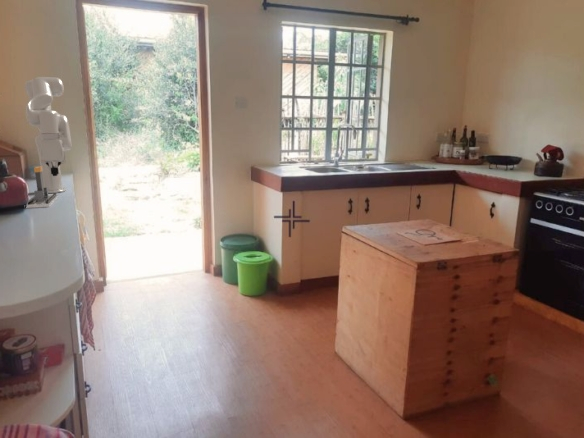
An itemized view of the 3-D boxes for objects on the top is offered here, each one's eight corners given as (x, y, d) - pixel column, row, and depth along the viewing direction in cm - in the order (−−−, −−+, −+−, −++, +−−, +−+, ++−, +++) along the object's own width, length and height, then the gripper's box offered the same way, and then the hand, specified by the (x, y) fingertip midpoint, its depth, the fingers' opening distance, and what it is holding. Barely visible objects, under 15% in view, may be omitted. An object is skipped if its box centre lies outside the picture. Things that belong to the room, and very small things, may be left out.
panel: (36, 199, 230) (34, 185, 228) (58, 197, 233) (56, 184, 231) (25, 208, 208) (23, 193, 206) (49, 206, 211) (47, 192, 209)
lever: (40, 193, 222) (36, 166, 219) (45, 193, 223) (42, 166, 220) (37, 196, 216) (33, 168, 213) (43, 195, 217) (39, 167, 214)
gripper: (68, 136, 221) (73, 174, 225) (34, 137, 216) (39, 175, 220) (66, 137, 214) (71, 175, 218) (31, 137, 209) (36, 177, 213)
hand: (55, 175), depth 219 cm, fingers closed
